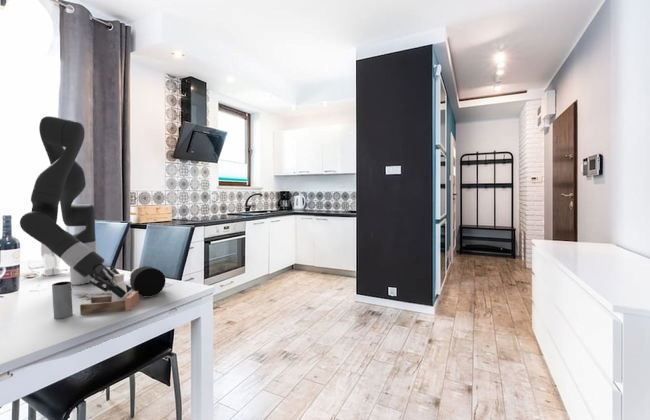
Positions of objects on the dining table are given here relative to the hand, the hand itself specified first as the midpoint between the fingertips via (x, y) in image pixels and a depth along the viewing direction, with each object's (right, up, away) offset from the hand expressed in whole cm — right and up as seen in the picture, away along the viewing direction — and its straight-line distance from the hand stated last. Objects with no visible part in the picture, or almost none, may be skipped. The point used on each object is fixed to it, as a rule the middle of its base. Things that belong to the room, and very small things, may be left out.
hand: (126, 293), depth 106 cm
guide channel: (-5, -5, -1) cm, 7 cm away
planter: (-15, -5, -7) cm, 17 cm away
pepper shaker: (-2, -5, 0) cm, 5 cm away
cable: (-7, -4, +21) cm, 22 cm away
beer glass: (-62, -3, +44) cm, 77 cm away
